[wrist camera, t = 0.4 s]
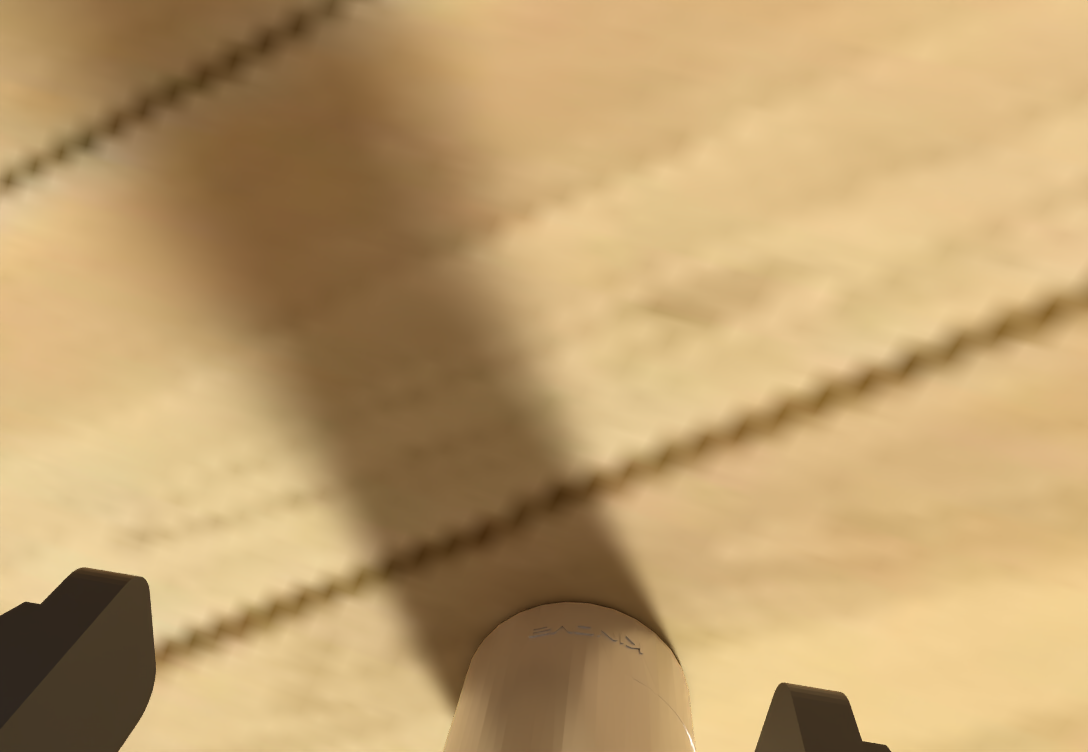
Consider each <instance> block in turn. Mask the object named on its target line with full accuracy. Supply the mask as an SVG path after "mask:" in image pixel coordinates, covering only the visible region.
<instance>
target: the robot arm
mask: <svg viewBox="0 0 1088 752" xmlns="http://www.w3.org/2000/svg"><path fill="white" fill-rule="evenodd" d="M155 674H156V662H155V650H154V638H153V626H152V614H151V602H150V591H149V586H148V583H147V581H146V580H145V579H144V578H143V577H139V576H133V575H127V574H121V573H115V572H109V571H103V570H97V569H92V568H86V567H85V568H79V569H77V570H75V571H74V572H72V573H71V574H70V575H69V576H68V577H67V578H66V579H65V580H64V581H63V582H62V583H61V584H60V585H59V586H58V587H57V588H56V589H55V590H54V591H53V592H52V593H51V594H50V595H49V596H48V597H47V598H46V599H45V600H44V601H43V602H42V603H41V604H36V603H30V602H24V603H22V604H20V605H19V606H17V607H15V608H13V609H12V610H10V611H8V612H6V613H4V614H3V615H1V616H0V752H118V751H119V750H120V748H121V747H122V745H123V744H124V742H125V741H126V739H127V738H128V736H129V735H130V733H131V732H132V730H133V729H134V728H135V726H136V725H137V723H138V722H139V720H140V718H141V717H142V715H143V713H144V711H145V709H146V707H147V704H148V702H149V699H150V697H151V693H152V690H153V686H154V681H155ZM443 752H696V748H695V740H694V731H693V723H692V715H691V707H690V698H689V690H688V687H687V683H686V680H685V677H684V673H683V670H682V668H681V666H680V665H679V663H678V661H677V659H676V658H675V656H674V654H673V653H672V651H671V650H670V648H669V647H668V646H667V645H666V644H665V643H664V642H663V641H662V640H661V639H660V638H659V637H658V635H657V634H656V633H654V632H653V631H652V630H650V629H649V628H648V627H646V626H645V625H643V624H642V623H641V622H639V621H638V620H636V619H634V618H632V617H630V616H628V615H626V614H623V613H621V612H619V611H617V610H615V609H611V608H607V607H603V606H599V605H595V604H591V603H576V602H561V603H554V604H546V605H540V606H537V607H534V608H532V609H529V610H526V611H523V612H520V613H518V614H516V615H515V616H513V617H511V618H510V619H508V620H506V621H505V622H503V623H501V624H500V625H498V626H497V627H496V628H495V629H494V630H493V631H492V632H491V633H490V634H489V635H488V636H487V637H486V638H485V639H484V640H483V642H482V643H481V645H480V646H479V648H478V649H477V651H476V652H475V654H474V656H473V657H472V660H471V663H470V666H469V669H468V672H467V675H466V678H465V681H464V684H463V688H462V691H461V694H460V698H459V701H458V704H457V708H456V711H455V715H454V718H453V721H452V725H451V728H450V730H449V733H448V737H447V740H446V743H445V747H444V750H443ZM755 752H891V751H890V750H889V748H888V747H887V746H886V745H882V744H876V743H870V742H864V741H862V739H861V736H860V733H859V730H858V727H857V724H856V721H855V718H854V715H853V712H852V709H851V706H850V703H849V700H848V699H847V697H846V696H845V695H844V694H843V693H841V692H837V691H831V690H825V689H819V688H813V687H807V686H801V685H795V684H789V683H781V684H779V685H778V687H777V689H776V690H775V693H774V696H773V699H772V702H771V705H770V707H769V710H768V713H767V716H766V719H765V722H764V725H763V728H762V731H761V734H760V737H759V740H758V743H757V746H756V749H755Z"/></svg>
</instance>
